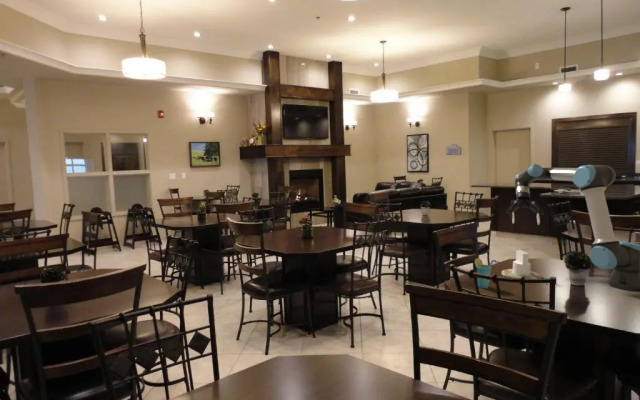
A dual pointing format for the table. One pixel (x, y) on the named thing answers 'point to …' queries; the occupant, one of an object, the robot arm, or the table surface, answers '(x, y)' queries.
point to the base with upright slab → (521, 263)
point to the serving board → (509, 274)
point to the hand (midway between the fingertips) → (526, 222)
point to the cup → (483, 272)
